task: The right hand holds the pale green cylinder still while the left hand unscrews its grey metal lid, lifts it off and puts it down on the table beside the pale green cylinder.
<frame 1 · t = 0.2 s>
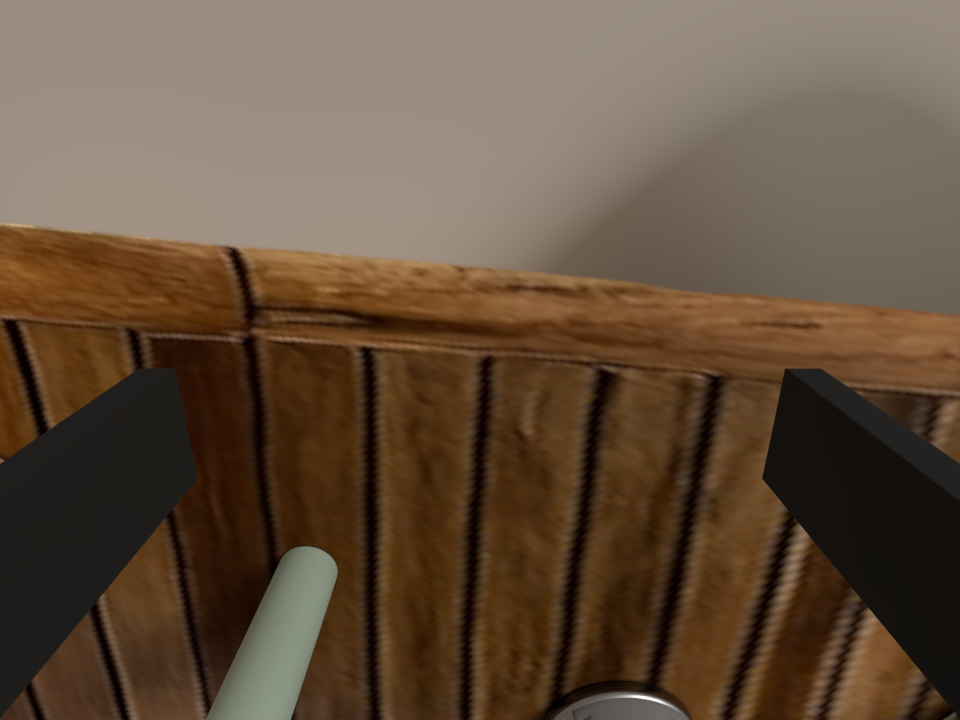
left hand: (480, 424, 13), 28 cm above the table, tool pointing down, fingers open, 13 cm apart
pale green cylinder: (308, 569, 49), on the table
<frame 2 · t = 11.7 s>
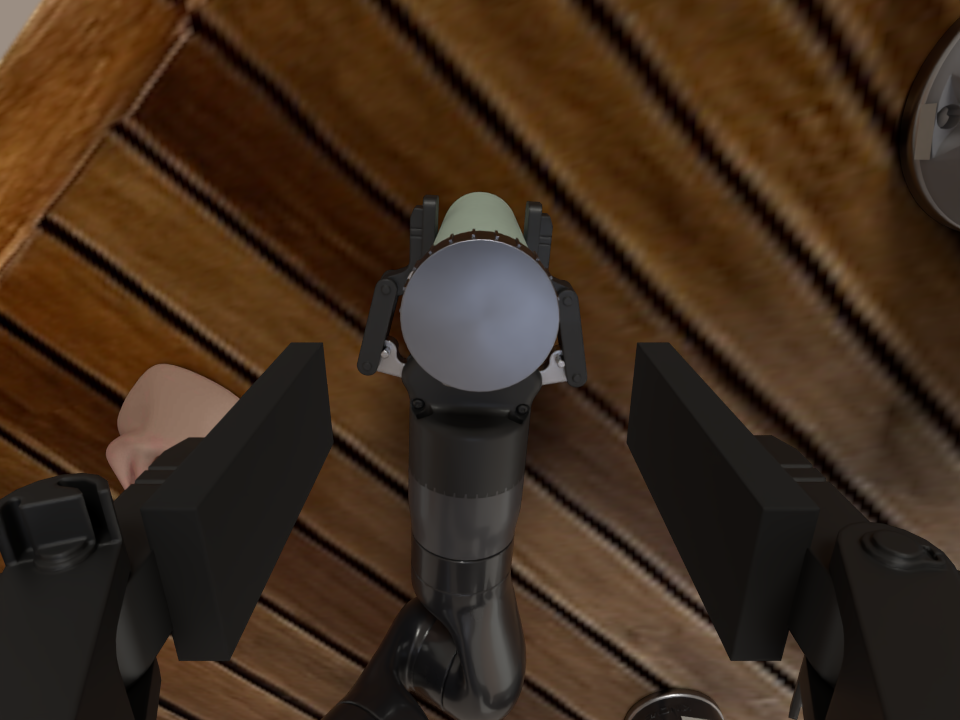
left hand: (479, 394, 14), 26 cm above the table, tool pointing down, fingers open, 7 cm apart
right hand: (482, 201, 31), fingers closed on pale green cylinder, 5 cm apart
lid: (480, 316, 20), point 20 cm above the table, screwed on, not yet turned
pale green cylinder: (479, 230, 39), on the table, touching right hand
anatomical model: (196, 446, 45), on the table
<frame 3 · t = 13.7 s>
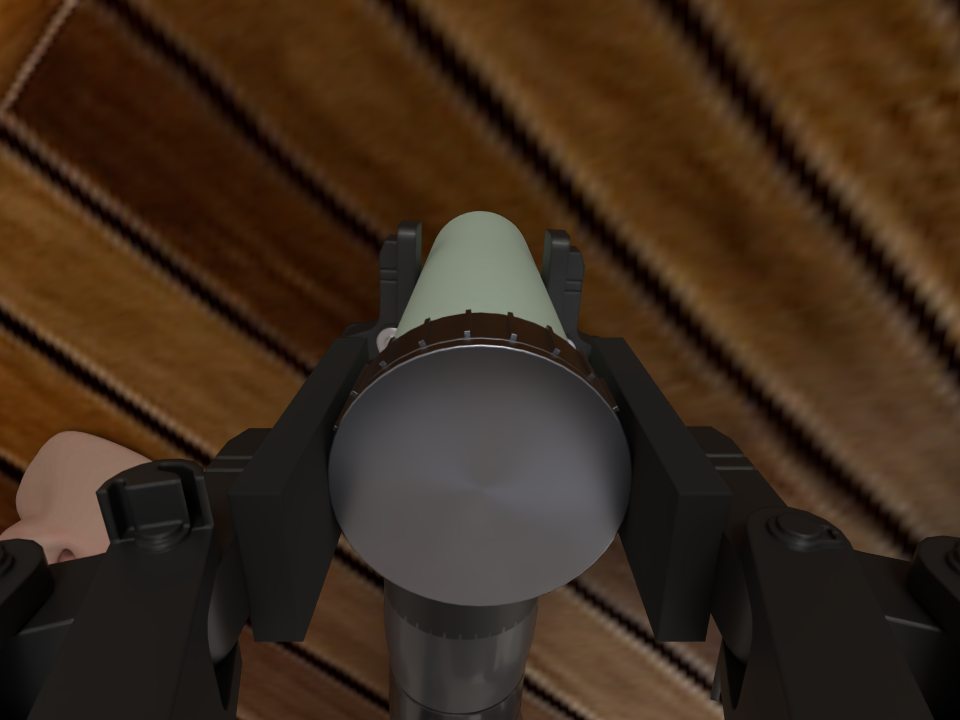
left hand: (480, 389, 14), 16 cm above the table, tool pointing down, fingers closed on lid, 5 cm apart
lid: (480, 478, 11), point 20 cm above the table, screwed on, not yet turned, touching left hand
pale green cylinder: (480, 261, 29), on the table, touching right hand
anatomical model: (119, 530, 35), on the table
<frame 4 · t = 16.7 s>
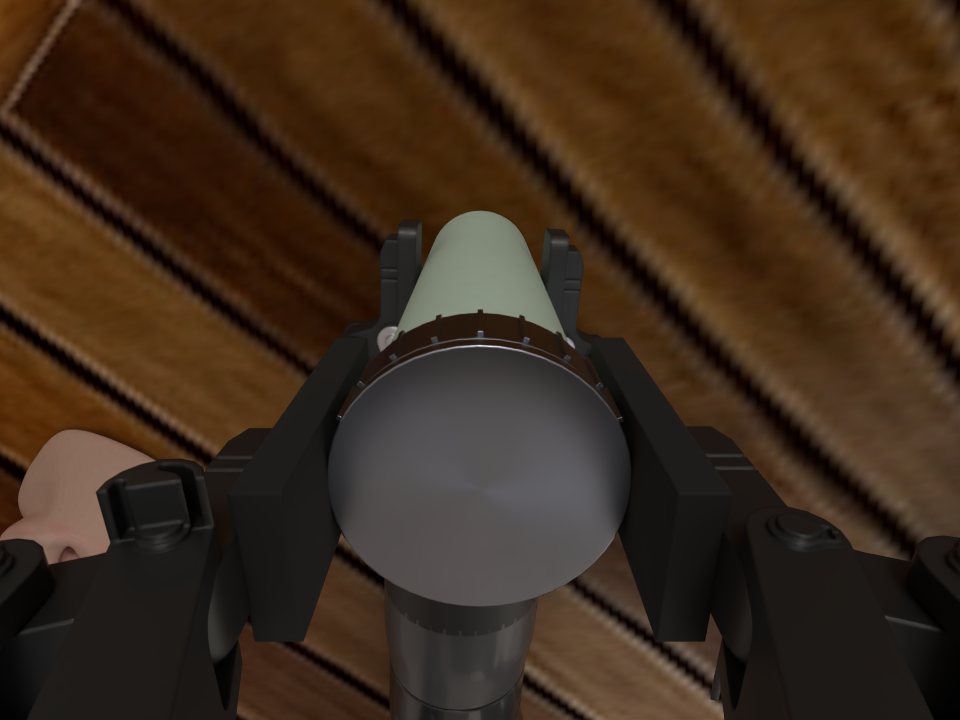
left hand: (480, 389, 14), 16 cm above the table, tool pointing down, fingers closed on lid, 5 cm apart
lid: (479, 478, 11), point 20 cm above the table, turned 61° so far, risen 0.2 cm, still on its thread, touching left hand
pale green cylinder: (479, 260, 29), on the table, touching right hand
anatomical model: (121, 528, 35), on the table
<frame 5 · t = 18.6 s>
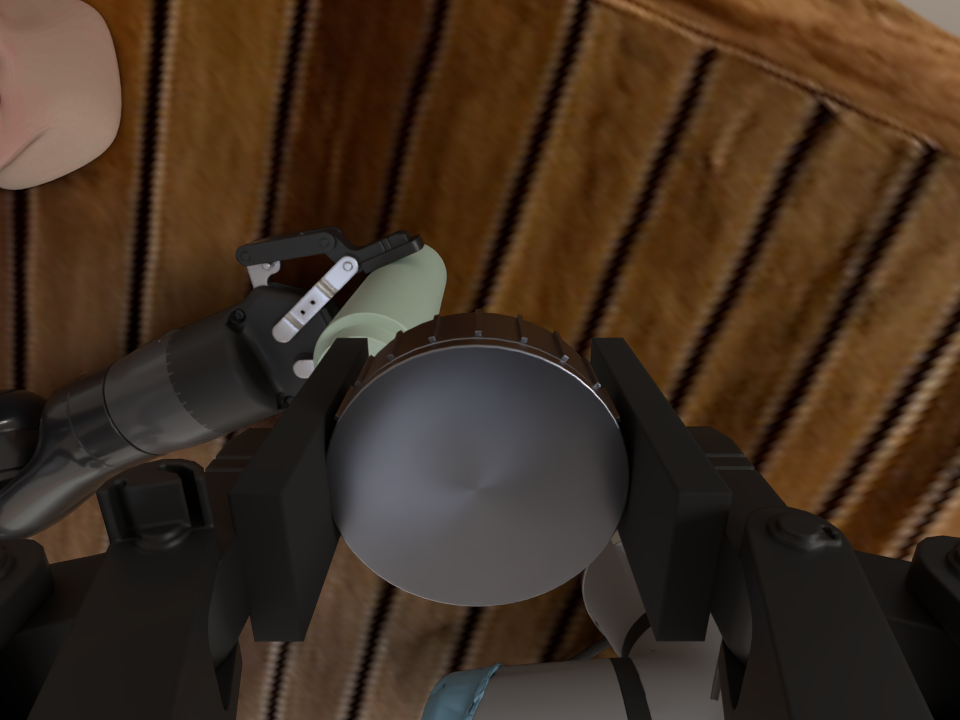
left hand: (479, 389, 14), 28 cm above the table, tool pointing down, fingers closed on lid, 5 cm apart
lid: (477, 478, 11), point 32 cm above the table, off its thread, touching left hand
pale green cylinder: (413, 275, 42), on the table, touching right hand
anatomical model: (31, 88, 38), on the table
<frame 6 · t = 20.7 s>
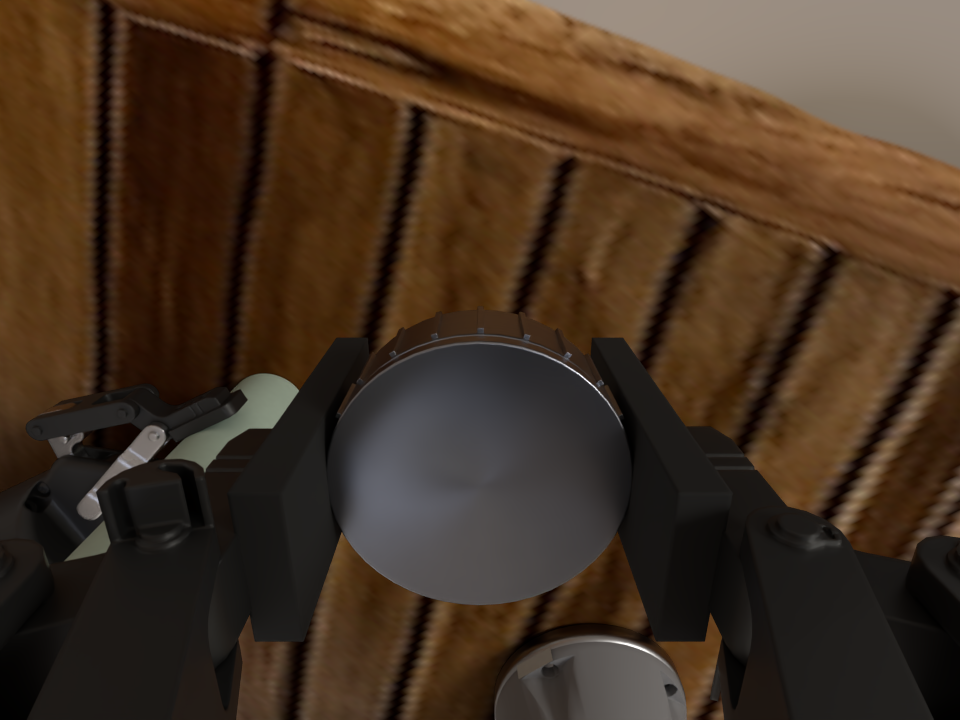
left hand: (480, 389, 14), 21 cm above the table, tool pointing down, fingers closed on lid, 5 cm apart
lid: (479, 475, 11), point 25 cm above the table, off its thread, touching left hand
pale green cylinder: (269, 407, 38), on the table, touching right hand
when the left hand's fingers open (0 cm above the table, at t = 24.9 s): lid drops 3 cm, point 2 cm above the table.
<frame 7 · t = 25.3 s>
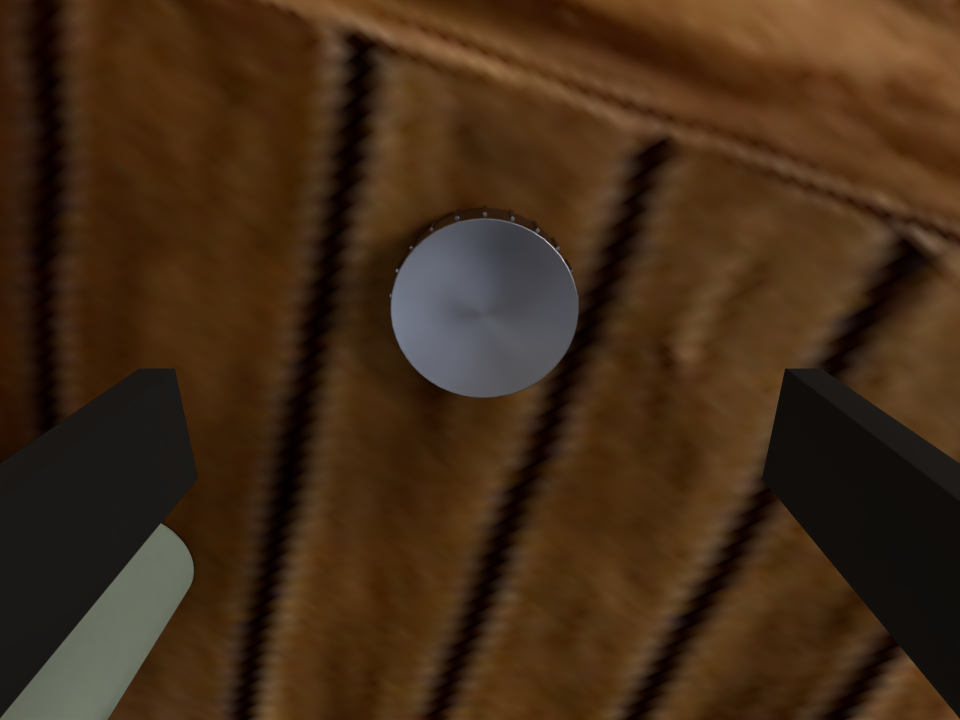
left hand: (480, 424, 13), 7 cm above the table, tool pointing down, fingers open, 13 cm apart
lid: (484, 310, 17), point 2 cm above the table, off its thread
pale green cylinder: (131, 560, 23), on the table, touching right hand
when the right hand's fingers open (7 cm above the table, at t = 25.5 s): pale green cylinder stays where it is, on the table.
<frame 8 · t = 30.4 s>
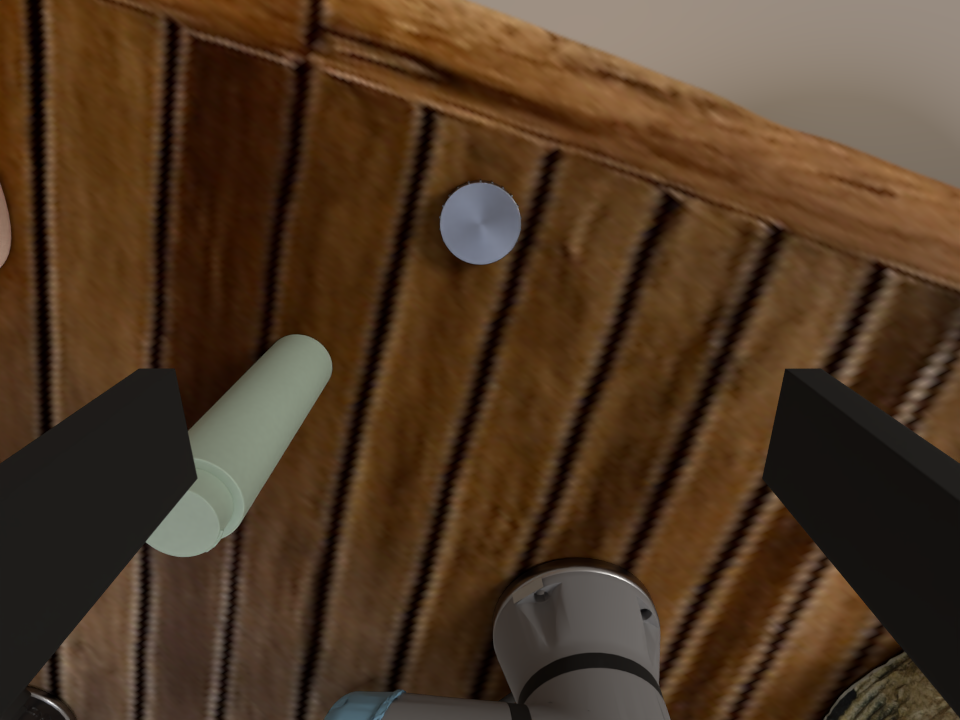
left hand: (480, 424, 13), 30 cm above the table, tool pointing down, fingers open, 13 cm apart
fossil: (892, 683, 57), on the table
lid: (480, 223, 39), point 2 cm above the table, off its thread
pale green cylinder: (300, 364, 45), on the table
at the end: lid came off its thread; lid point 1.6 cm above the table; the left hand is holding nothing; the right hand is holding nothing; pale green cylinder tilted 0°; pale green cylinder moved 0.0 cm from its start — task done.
